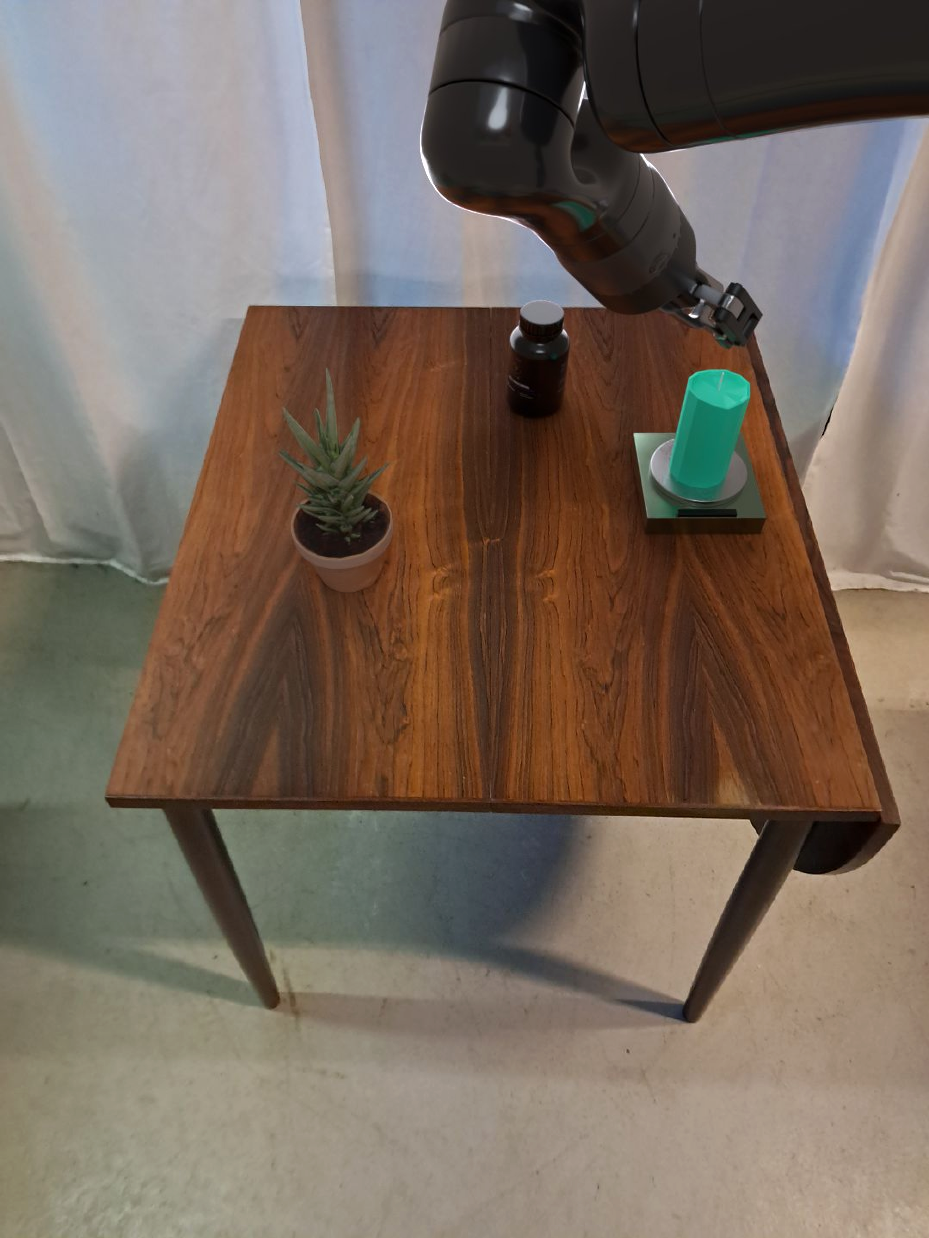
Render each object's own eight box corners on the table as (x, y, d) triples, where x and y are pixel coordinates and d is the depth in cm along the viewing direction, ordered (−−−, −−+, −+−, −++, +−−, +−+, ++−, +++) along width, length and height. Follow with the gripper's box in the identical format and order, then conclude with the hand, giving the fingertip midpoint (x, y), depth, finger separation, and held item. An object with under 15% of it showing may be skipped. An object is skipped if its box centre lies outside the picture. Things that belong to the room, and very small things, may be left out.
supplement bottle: (502, 417, 103) (505, 327, 94) (510, 381, 107) (513, 291, 98) (561, 423, 103) (570, 333, 93) (566, 386, 107) (576, 296, 97)
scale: (760, 534, 92) (768, 512, 89) (644, 534, 92) (648, 512, 89) (737, 449, 100) (744, 427, 97) (630, 449, 100) (634, 427, 97)
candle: (662, 479, 92) (684, 384, 83) (676, 443, 96) (699, 348, 86) (719, 494, 91) (748, 399, 81) (732, 457, 94) (761, 362, 85)
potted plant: (321, 621, 85) (275, 417, 66) (289, 555, 90) (238, 347, 71) (417, 586, 88) (400, 380, 68) (380, 524, 93) (356, 315, 73)
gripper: (752, 213, 52) (793, 304, 66) (558, 140, 58) (634, 238, 72) (685, 333, 53) (739, 396, 68) (503, 251, 59) (588, 325, 74)
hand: (685, 315), depth 70 cm, fingers open, 8 cm apart
